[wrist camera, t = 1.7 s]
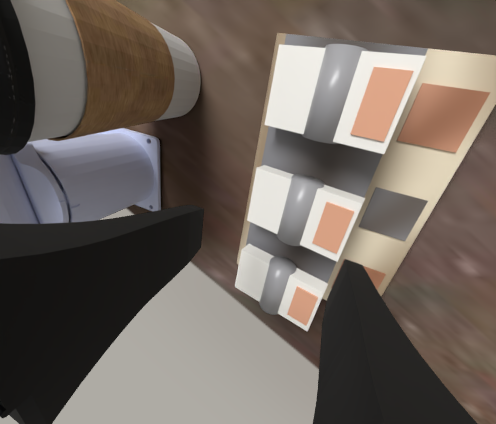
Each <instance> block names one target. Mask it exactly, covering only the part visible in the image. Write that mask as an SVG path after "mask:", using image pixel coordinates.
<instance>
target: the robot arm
mask: <svg viewBox="0 0 496 424" xmlns="http://www.w3.org/2000/svg"><path fill="white" fill-rule="evenodd" d="M150 140H151V143H150ZM132 205H137V206H139V207H142V208H145V209H147V210H150V211H153V212H148V213H143V214H137V215H131V216H125V217H119V218H113V219H105V220H100V219H102V218H104V217H106V216H108V215H111V214H113V213H116V212H118V211H120V210H122V209H125V208H127V207H129V206H132ZM152 206H153V207H152ZM203 215H204V209H202V208H200V207H197V206H194V205H185V206H179V207H174V208H168V209H163V210H161V189H160V141H159V139H158V138H157V137H154V136H151V135H147V134H143V133H140V132H136V131H132V130H129V129H125V128H120V129H115V130H111V131H106V132H101V133H96V134H91V135H86V136H82V137H77V138H72V139H67V140H62V141H53V140H48V139H43V140H37V141H31V142H27V144H26V145H25V147H24V148H23V149H22V150H20V151H19V152H17V153H16V154H10V155H1V154H0V417H2V418H4V417H7V416H8V415H10V416H11V417H12V418H13V419H14V420H16V421H17V422H18V423H19V424H52V423H53V421H54V420H55V418H56V417H57V416H58V414H59V413H60V411H61V410H62V409H63V407H64V405H66V403H67V402H68V400H69V399H70V398H71V396H72V395H73V393H74V392H75V391H76V389H77V388H78V387H79V385H80V384H81V382H82V381H83V380H84V378H85V377H86V376H87V375H88V373H89V372H90V371H91V369H92V368H93V367H94V366H95V364H96V363H97V362H98V360H99V359H100V358H101V357H102V355H103V354H104V353H105V351H106V350H107V349H108V348H109V347H110V345H111V344H112V343H113V342H114V340H115V339H116V338H117V337H118V336H119V334H120V333H121V332H122V331H123V329H124V328H125V327H126V326H127V325H128V324H129V323H130V321H131V320H132V319H133V318H134V317H135V316H136V314H137V313H138V312H139V311H140V310H141V309H142V308H143V307H144V306H145V305H146V304H147V303H148V301H149V300H151V299H152V297H154V296H155V295H156V294H157V293H158V292H159V291H160V290H161V289H162V288H163V287H164V286H165V285H166V284H167V283H168V282H170V281H171V280H172V279H173V278H174V277H175V276H176V275H177V274H178V273H179V272H180V271H181V270H182V269H183V268H184V267H185V266H186V265H187V264H188V263H189V262H190V260H191V259H192V258H193V257H194V256H195V254H196V253H197V252H198V250H199V249H200V248H201V239H202V227H203ZM313 424H477V423H476V421H475V420H474V419H473V418H472V417H471V416H470V415H469V414H468V412H467V411H466V410H465V409H464V408H463V407H462V406H461V405H460V403H459V402H458V401H457V400H456V399H455V397H454V396H453V395H452V394H451V393H450V392H449V390H448V389H447V388H446V387H445V386H444V384H443V383H442V382H441V381H440V379H439V378H438V377H437V376H436V374H435V373H434V372H433V371H432V369H431V368H430V367H429V365H428V364H427V363H426V362H425V360H424V359H423V358H422V357H421V355H420V354H419V353H418V351H417V350H416V349H415V347H414V346H413V345H412V343H411V342H410V340H409V339H408V337H407V336H406V335H405V333H404V332H403V330H402V329H401V327H400V326H399V324H398V323H397V321H396V320H395V318H394V317H393V315H392V314H391V312H390V311H389V309H388V307H387V306H386V304H385V303H384V301H383V299H382V298H381V296H380V294H379V293H378V291H377V289H376V287H375V286H374V284H373V282H372V280H371V279H370V277H369V275H368V273H367V272H366V270H365V268H364V267H363V265H361V264H358V263H356V262H353V261H350V260H347V259H345V260H344V262H343V264H342V267H341V269H340V271H339V273H338V276H337V278H336V280H335V282H334V285H333V287H332V289H331V291H330V294H329V296H328V298H327V302H326V307H325V312H324V317H323V323H322V336H321V350H320V365H319V380H318V392H317V402H316V408H315V414H314V420H313Z"/></svg>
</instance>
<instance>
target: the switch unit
mask: <svg viewBox="0 0 496 424" xmlns="http://www.w3.org/2000/svg"><path fill="white" fill-rule="evenodd" d="M279 44H281V45H293V46H306V47H319V48H325V47H326V45H329V44H347V45H354V46H358V47H362V48H365V49H367V50H368V51H370V52H383V53H396V54H409V55H422V56H426V59H425V62H424V64H423V66H422V69H421V71H420V73H419V76H418V78H417V80H416V82H415V85H414V87H413V89H412V92H411V94H410V96H409V99H408V101H407V103H406V106H405V108H404V110H403V113H402V115H401V117H400V119H399V122H398V124H397V126H396V129H395V131H394V133H393V136H392V138H391V140H390V143H389V145H388V147H387V149H386V152H385V154H381V153H377V152H373V151H369V150H364V149H360V148H356V147H352V146H348V145H344V144H340V143H338V144H329V143H323V142H318V141H314V140H310V139H307V138H305V137H303V136H302V135H303V134H300V133H295V132H291V131H287V130H283V129H279V128H275V127H271V126H267V125H264V124H265V119H266V113H267V108H268V103H269V97H270V92H271V86H272V81H273V75H274V70H275V64H276V59H277V53H278V48H279ZM495 104H496V56H494V55H484V54H475V53H465V52H455V51H446V50H436V49H427V48H418V47H408V46H398V45H389V44H379V43H370V42H360V41H351V40H341V39H331V38H322V37H312V36H303V35H293V34H283V33H277V38H276V44H275V50H274V55H273V61H272V67H271V72H270V78H269V84H268V89H267V95H266V101H265V106H264V112H263V118H262V123H261V129H260V135H259V140H258V146H257V152H256V157H255V163H254V168H253V174H252V180H251V185H250V191H249V197H248V202H247V208H246V214H245V219H244V225H243V231H242V236H241V242H240V248H239V253H238V259H237V264H239V261H240V256H241V250H242V249H243V248H244V247H245V246H247V245H248V244H251V245H253V246H255V247H257V248H259V249H261V250H263V251H265V252H267V253H269V254H271V255H273V256H274V257H275V256H283V257H287V258H289V259H290V260H292V261H293V262H294V263H295V265H296V268H298V269H300V270H302V271H304V272H306V273H308V274H310V275H312V276H314V277H316V278H318V279H320V280H322V281H324V282H326V283H328V286H327V288H326V290H325V293H324V295H323V297H322V299H324V300H327V298H328V296H329V294H330V291H331V289H332V287H333V285H334V282H335V280H336V278H337V276H338V273H339V271H340V269H341V267H342V264H343V262H344V260H345V259H347V260H350V261H353V262H356V263H358V264H361V265H363V267H364V268H365V270H366V272H367V273H368V275H369V277H370V279H371V280H372V282H373V284H374V286H375V287H376V289H377V291H378V293H379V294H380V296H382V294H383V293H384V291H385V289H386V287H387V286H388V284H389V282H390V281H391V279H392V277H393V276H394V274H395V272H396V271H397V269H398V267H399V266H400V264H401V262H402V261H403V259H404V257H405V256H406V254H407V252H408V250H409V249H410V247H411V245H412V244H413V242H414V240H415V239H416V237H417V235H418V234H419V232H420V230H421V229H422V227H423V225H424V224H425V222H426V220H427V219H428V217H429V215H430V214H431V212H432V210H433V208H434V207H435V205H436V203H437V202H438V200H439V198H440V197H441V195H442V193H443V192H444V190H445V188H446V187H447V185H448V183H449V182H450V180H451V178H452V177H453V175H454V173H455V172H456V170H457V168H458V166H459V165H460V163H461V161H462V160H463V158H464V156H465V155H466V153H467V151H468V150H469V148H470V146H471V145H472V143H473V141H474V140H475V138H476V136H477V135H478V133H479V131H480V129H481V128H482V126H483V124H484V123H485V121H486V119H487V118H488V116H489V114H490V113H491V111H492V109H493V108H494V106H495ZM263 165H266V166H269V167H272V168H275V169H278V170H281V171H284V172H287V173H290V174H293V175H296V174H301V175H307V176H311V177H314V178H317V179H319V180H321V181H322V182H324V185H327V186H330V187H333V188H336V189H339V190H342V191H345V192H348V193H351V194H354V195H357V196H360V197H363V198H365V200H364V203H363V205H362V207H361V210H360V212H359V214H358V216H357V219H356V221H355V223H354V226H353V228H352V230H351V233H350V235H349V237H348V240H347V242H346V244H345V246H344V249H343V251H342V253H341V256H340V258H339V260H338V262H336V261H334V260H332V259H330V258H328V257H325V256H323V255H321V254H319V253H317V252H315V251H312V250H310V249H308V248H306V247H304V246H302V245H301V246H291V245H288V244H285V243H283V242H282V241H280V240H279V239H278V237H277V234H276V233H273V232H271V231H269V230H267V229H265V228H262V227H260V226H258V225H256V224H254V223H252V222H249V221H247V217H248V212H249V206H250V201H251V195H252V190H253V184H254V179H255V174H256V168H257V167H260V166H263Z"/></svg>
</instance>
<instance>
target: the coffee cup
mask: <svg viewBox="0 0 496 424" xmlns="http://www.w3.org/2000/svg"><path fill="white" fill-rule="evenodd" d="M200 85H201V78H200V70H199V66H198V63H197V60H196V58H195V56H194V54H193V52H192V50H191V49H190V48H189V46H188V45H187V44H186V43H185V42H183V41H182V40H181V39H180V38H178V37H176V36H174V35H172V34H171V33H169V32H167V31H165V30H163V29H162V28H160V27H158V26H156V25H154V24H153V23H151V22H150V21H148V20H147V19H145V18H144V17H142V16H140V15H139V14H137V13H135V12H134V11H132V10H130V9H129V8H127V7H125V6H124V5H122V4H120V3H119V2H117V1H115V0H0V154H1V155H10V154H16V153H17V152H19V151H20V150H22V149H23V148H24V147H25V145H26V144H27V142H31V141H37V140H43V139H48V140H53V141H62V140H67V139H72V138H77V137H82V136H86V135H91V134H96V133H101V132H106V131H111V130H115V129H120V128H125V127H130V126H135V125H140V124H144V123H149V122H153V121H157V120H163V119H170V118H175V117H180V116H183V115H185V114H187V113H188V112H189V111H190V110H191V109H192V108H193V106H194V105H195V103H196V101H197V99H198V96H199V92H200Z"/></svg>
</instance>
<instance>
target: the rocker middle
mask: <svg viewBox="0 0 496 424" xmlns="http://www.w3.org/2000/svg"><path fill="white" fill-rule="evenodd" d="M364 200H365V198H363V197H360V196H357V195H354V194H351V193H348V192H345V191H342V190H339V189H336V188H333V187H330V186H327V185H324V182H322V181H321V180H319V179H317V178H314V177H311V176H307V175H301V174H296V175H293V174H290V173H287V172H284V171H281V170H278V169H275V168H272V167H269V166H266V165H263V166H260V167H257V168H256V174H255V179H254V184H253V190H252V195H251V201H250V206H249V212H248V217H247V221H249V222H252V223H254V224H256V225H258V226H260V227H262V228H265V229H267V230H269V231H271V232H273V233H276V234H277V237H278V239H279V240H280V241H282V242H283V243H285V244H288V245H291V246H301V245H302V246H304V247H306V248H308V249H310V250H312V251H315V252H317V253H319V254H321V255H323V256H325V257H328V258H330V259H332V260H334V261H336V262H338V260H339V258H340V256H341V253H342V251H343V249H344V246H345V244H346V242H347V240H348V237H349V235H350V233H351V230H352V228H353V226H354V223H355V221H356V219H357V216H358V214H359V212H360V210H361V207H362V205H363V203H364Z"/></svg>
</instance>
